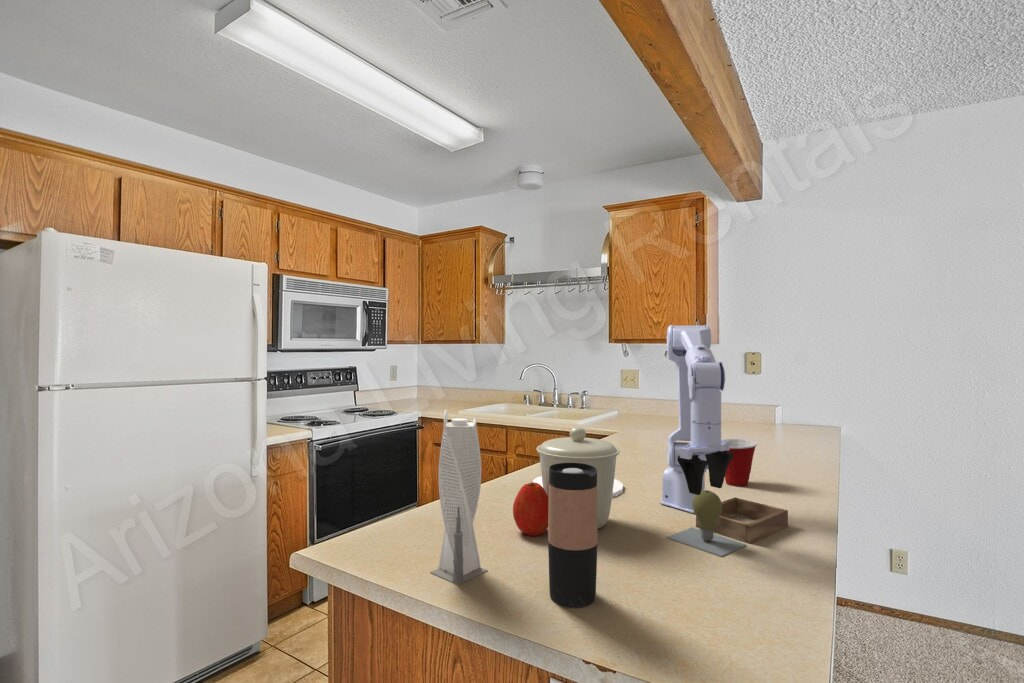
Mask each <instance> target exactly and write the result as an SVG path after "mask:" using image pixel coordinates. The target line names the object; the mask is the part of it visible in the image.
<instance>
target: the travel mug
mask: <svg viewBox="0 0 1024 683" xmlns="http://www.w3.org/2000/svg"><path fill="white" fill-rule="evenodd" d="M547 529H548V530H547V544H548V545H547V546H548V547H547V549H548V550H547V552H548V579H549V580H548V581H549V582H548V584H549V597H550V599H551V601H552V602H553V603H555V604H557V605H560V606H562V607H565V608H575V609H577V608H585V607H587V606H590V605H592V604H593V603H594V602H595V600H596V596H597V569H598V568H597V567H598V565H597V564H598V539H599V538H598V529H597V469H596V467H594V466H592V465H588V464H583V463H558V464H554V465H551V466H550V467H549V509H548V528H547Z"/></svg>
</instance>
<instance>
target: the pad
mask: <svg viewBox="0 0 1024 683" xmlns="http://www.w3.org/2000/svg"><path fill="white" fill-rule="evenodd" d="M700 532H701V531H700V528H697V527H696V528H695V527H689V528H687V529H683V530H681V531H679V532H676V533H674V534H670V535H668V536H666V539H668V538H669V539H668V540H671V539H672V540H671V541H674V540H675V541H674V542H677V541H678V542H677V543H680V542H681V543H680V544H683V545H685V546H688V545H689V547H691V546H692V548H694V547H695V548H694V549H697V548H698V549H697V550H700V551H703V552H706V553H708V554H712V555H715V556H718V557H721V558H722V557H725V556H727V555H729V554H731V553H733V552H736V551H738V550H740V549H742V548H744V547H746V546H747V544H746V543H744V542H741V541H738V540H737V541H735V539H730V538H727V537H725V536H722V535H719V534H716V533H713V539H712V540H710V541H709V542H706V541H704V540H703V539H702V538H701V537H700V536H701V535H700V534H701V533H700Z"/></svg>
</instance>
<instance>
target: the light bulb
mask: <svg viewBox="0 0 1024 683" xmlns="http://www.w3.org/2000/svg"><path fill="white" fill-rule="evenodd" d="M722 502H723V501H722V500H721V498H720V497H719V496H718V494H716V493H715V492H713V491H712V490H706V489H705V490H704V491H701V494H700V495H695V496H694V498H693V501H692V506H693V510H694V513H693V514H695V518H696V517H697V519H698V523H699V526H700V528H699V530H700V531H701V532H700V533H701V534H700V535H701V536H700V537H701V538H702V539H703V540H704V541H706V542H709V541H710V540H712V539H713V534H714V532H713V529H714V528H715V526H716V522H717V520H718V518H719V516H720V514H721V512H722Z"/></svg>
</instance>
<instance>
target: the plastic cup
mask: <svg viewBox="0 0 1024 683" xmlns="http://www.w3.org/2000/svg"><path fill="white" fill-rule="evenodd" d="M723 440H727V441H730V450H728V451H726V452H731V453H733V459H732V460H731V462H730V464H729V466H728V468H727V470H726V474H725V477H724V482H725V484H727V485H728V486H733V487H747V486H748V485H749V481H750V474H751V472H752V471H751V470H752V465H753V459H754V454H755V450H756V447H757V445H758V444H757V442H756V441H755V440H751V439H744V438H743V439H741V438H726V439H723Z"/></svg>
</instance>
